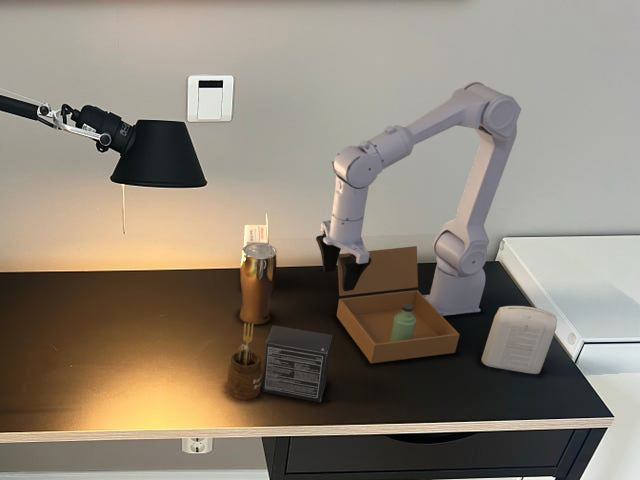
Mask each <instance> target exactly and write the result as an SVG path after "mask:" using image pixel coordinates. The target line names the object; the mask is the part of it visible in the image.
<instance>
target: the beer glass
mask: <svg viewBox="0 0 640 480" xmlns="http://www.w3.org/2000/svg"><path fill="white" fill-rule="evenodd" d="M277 252H278V250H277V248H275V246H273V245H271V244H269V245H268V244H264V243H252V244H248V245H246V246H245V247H244V246H243V248H242V253H241V259H240V266H239V267H240V268H239V278H240V288H241V295H242V303H241V308H240V313H239V318H240V320H241V321H242V322H244V324H245V323H246V324H247V325H248V324H250V325H252V324H253V326H255V325H256V326H258V325H263V324H266V323H267V322H269V320H270V318H271V313H270V299H271V295H272V292H273V289H274V284H275V280H276V274H277V262H278V261H277V258H278V257H277Z"/></svg>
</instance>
